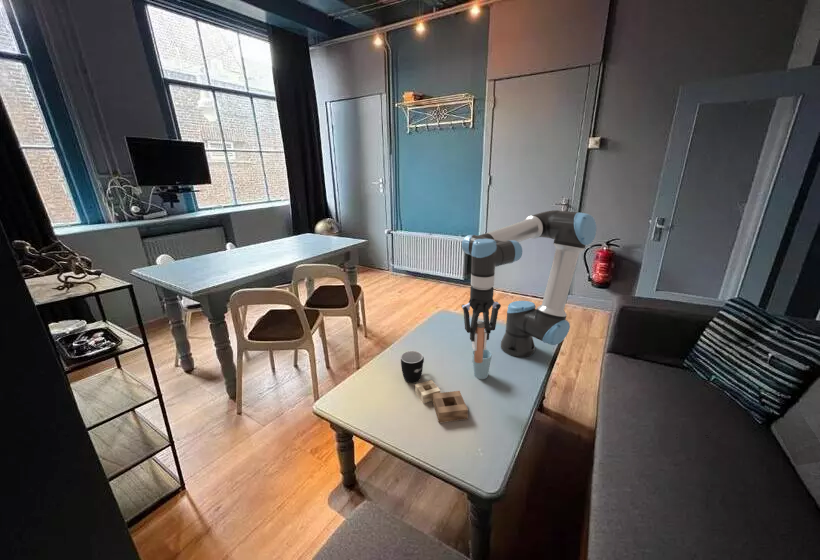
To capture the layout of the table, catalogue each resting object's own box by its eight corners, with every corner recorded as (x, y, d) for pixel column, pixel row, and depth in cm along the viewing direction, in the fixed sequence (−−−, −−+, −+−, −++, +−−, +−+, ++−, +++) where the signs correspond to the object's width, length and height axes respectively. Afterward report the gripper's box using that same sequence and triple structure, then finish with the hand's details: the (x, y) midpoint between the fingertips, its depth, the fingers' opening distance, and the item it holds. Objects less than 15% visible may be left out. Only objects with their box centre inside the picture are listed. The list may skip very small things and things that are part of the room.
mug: (414, 388, 127) (413, 365, 124) (396, 379, 133) (396, 358, 129) (431, 373, 136) (431, 352, 133) (414, 366, 141) (414, 345, 138)
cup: (469, 369, 138) (470, 348, 134) (487, 369, 138) (489, 348, 134) (473, 381, 131) (474, 358, 127) (492, 380, 130) (493, 358, 127)
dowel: (481, 358, 119) (483, 320, 114) (484, 362, 116) (486, 324, 111) (472, 358, 118) (474, 321, 113) (475, 363, 115) (477, 325, 111)
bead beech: (431, 387, 127) (431, 379, 126) (440, 398, 121) (440, 390, 120) (415, 392, 125) (415, 384, 124) (423, 403, 119) (423, 395, 118)
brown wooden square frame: (459, 399, 120) (459, 390, 119) (467, 419, 111) (467, 409, 110) (432, 402, 119) (432, 393, 118) (438, 422, 110) (438, 413, 108)
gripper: (500, 280, 112) (496, 340, 120) (455, 284, 110) (454, 345, 118) (509, 288, 105) (504, 351, 113) (462, 291, 103) (460, 356, 111)
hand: (478, 348), depth 115 cm, fingers closed on dowel, 3 cm apart
